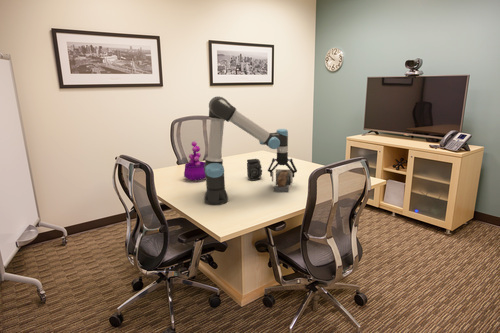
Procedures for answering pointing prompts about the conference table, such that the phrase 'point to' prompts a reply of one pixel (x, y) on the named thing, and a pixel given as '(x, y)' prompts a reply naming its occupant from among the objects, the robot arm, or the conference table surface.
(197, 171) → the decorative plant
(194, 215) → the conference table surface
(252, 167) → the camera
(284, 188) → the rest block
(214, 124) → the robot arm
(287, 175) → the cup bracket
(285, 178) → the rail
